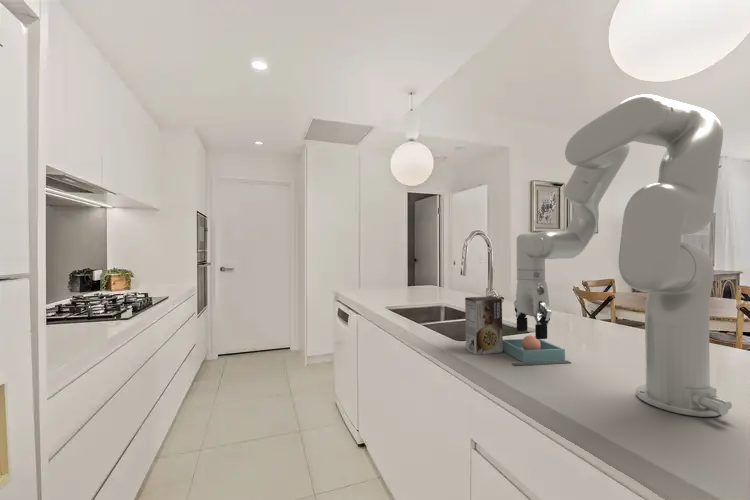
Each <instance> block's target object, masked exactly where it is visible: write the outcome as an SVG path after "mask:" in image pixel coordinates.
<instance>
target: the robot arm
mask: <svg viewBox="0 0 750 500" xmlns="http://www.w3.org/2000/svg"><path fill="white" fill-rule="evenodd" d="M723 130H724V129H723V126H722V122H721V121H720V120H719V118H718V117H717V116H716V115H715V114H714V113H713V112H712V111H709V110H707V109H705V108H701V107H699V106H695V105H692V104H688V103H684V102H680V101H677V100H673V99H668V98H665V97H661V96H659V95H654V94H639V95H635V96H632V97H629V98H627V99H625V100H623V101H622V102H620V103H618V104H617V105H615V106H613V107H612V108H610V109H609V110H607V111H606V112H604V113H603V114H600V115H599V116H598V117H596V118H594V119H593V120H591V121H590V122H588V123H586V125H584V126H582V127H581V128H580V129H578V130H577V131H576V132H575V133H574V134H573V135H572V136H571V137H570V138H569V140H568V142H567V143H566V146H565V150H564V155H565V156H564V157H565V160H566V161H567V162H568V163H569V164H570V165H572V166H575V169H574V170H573V172H572V174H571V176H570V178H569V179H568V181H567V183H566V184H565V186H564V189H563V196H564V197H565V198H566V199H567V200H568V201H569V202H570V203H571V204H572V207H573V216H572V217H571V218H572V219H571V220H570V222H569V224H568V226H567V228H566V229H565V230H564V231H562V230H554V231H552V230H546V231H540V232H535V233H534V232H533V233H520V234H518V235H517V237H516V293H515V300H514V301H513V305H514V312H515V317H516V331H517V332H527V331H528V317H527V316H530V317H534V321H535V323H536V324H535V327H534V328H535V331H534V332H535V335H534V336H535V338H536V339H541V340H547V339H548V325H549V322H550V321H551V316H552V313H553V312H552V310H551V308H550V298H549V290H548V285H547V281H546V260H557V259H566V260H567V259H574V258H576V257H577V256H579V255H580V254H581V253H583V251H584V250H585V249H586V247H587V246H588V244H589V243H590V242H591V240H592V238H593V236H594V235H595V232H596V231H597V227H598V224H599V216H600V215H599V204H600V202H601V200H602V198H603V197H604V195H605V194H606V192H607V190H608V189H609V187H610V186H611V184H612V182H613V180H614V179H615V177H616V176H617V174H618V173H619V170H620V169H621V167H622V166H623V164H624V162H625V161H626V159H627V157H628V156H629V152H630V149H631V148H630V144H631V143H633V142H635V143H636V142H637V143H640V144H648V145H653V146H657V147H658V146H660V147H664V148H666V151H665V153H664V155H663V157H662V158H661V161H660V165H659V169H658V179H657V183H652V184H647V185H645V186H643V187H641V188H639V189H638V190H636V191H635V193H634V194H633V195H632V196H631V197H630V199H629V200H628V202H627V203H626V205H625V208H624V211H623V218H622V224H621V225H622V226H621V227H622V228H621V233H620V242H619V243H620V244H619V252H618V270H619V274H620V276H621V278H622V280H623V281H624V283H625V284H626V285H628V286H629V287H630V288H632V289H634V290H635V291H638V292H639V291H640V292H642V293H643V292H644V293H647V296H646V300H645V307H644V308H645V309H644V336H645V337H644V342H645V344H644V345H645V346H644V347H645V355H644V356H645V357H644V358H645V361H644V362H645V384H642V385H639V386H638V387H636V389H635V391H636V396H637V397H638V398H639V399H640V400H641V401H643V402H645V403H647V404H648V405H651V406H653V407H656V408H659V409H661V410H664V411H668V412H672V413H675V414H681V415H686V416H693V417H702V418H704V417H705V418H710V417H711V418H712V417H717V416H720V415H721V416H726V415H727V414H728V413H729V410H730V409H732V408H733V407H732V406H733V405H732V402H731V401H728V400H726V399H723V398H720V397H718V396H717V387H713V386H711V374H710V373H711V370H710V369H711V367H710V366H711V365H710V364H711V363H710V362H711V361H710V355H711V354H710V305H711V303H710V302H711V294H712V288H713V283H714V278H715V277H714V276H715V268H714V267H715V266H714V264H713V261H712V259H711V257H710V256H709V255H710V254H708V253H707V252H706V251H705V250H704V249H702V248H701V247H699V246H697V245H695V244H692V243H689V242H684V241H683V242H682V236H683V235H684V236H685V235H687V236H688V235H693V234H696V233H699V232H700V231H701V232H702V231H703V230H704V229H705V228H707V227H708V226H709V224H710V223H711V221H712V218H713V216H714V208H715V203H716V202H715V199H716V194H717V186H718V178H719V167H720V159H721V154H722V147H723V140H724V131H723Z"/></svg>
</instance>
